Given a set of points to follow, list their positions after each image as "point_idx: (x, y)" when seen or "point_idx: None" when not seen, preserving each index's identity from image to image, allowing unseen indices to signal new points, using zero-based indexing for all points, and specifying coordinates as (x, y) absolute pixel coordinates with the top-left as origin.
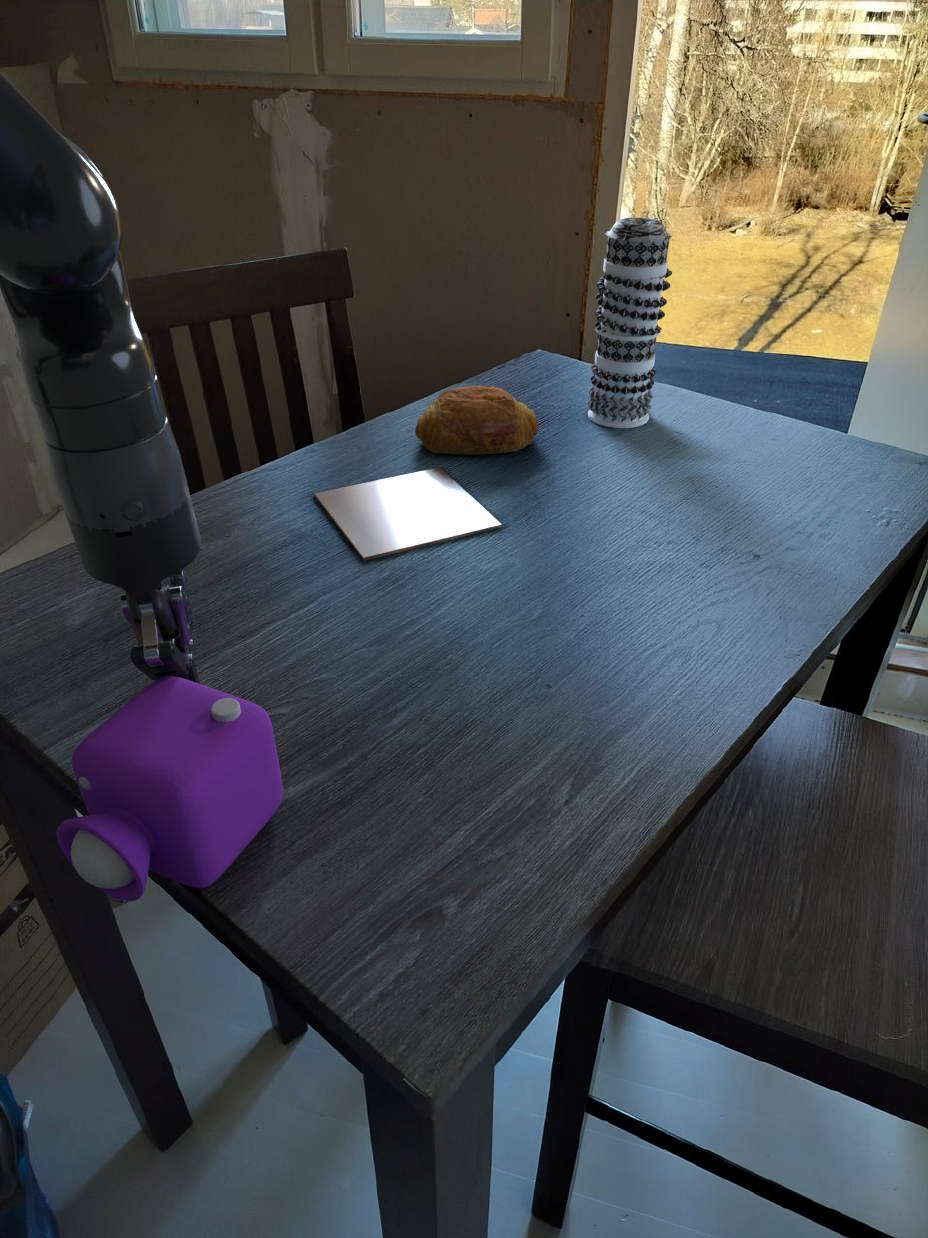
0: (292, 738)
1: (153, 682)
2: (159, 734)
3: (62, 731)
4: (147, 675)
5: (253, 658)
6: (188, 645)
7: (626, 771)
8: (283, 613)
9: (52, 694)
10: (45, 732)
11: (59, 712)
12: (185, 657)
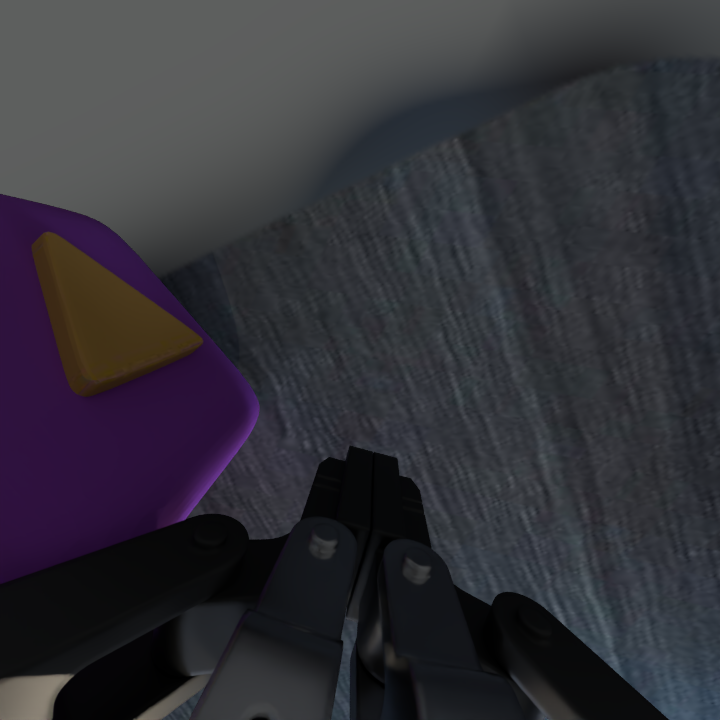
0: None
1: (1, 576)
2: None
3: (505, 179)
4: (66, 565)
5: (524, 569)
6: (350, 673)
7: None
8: (632, 649)
9: (662, 169)
10: (523, 139)
11: (580, 179)
12: (187, 699)
